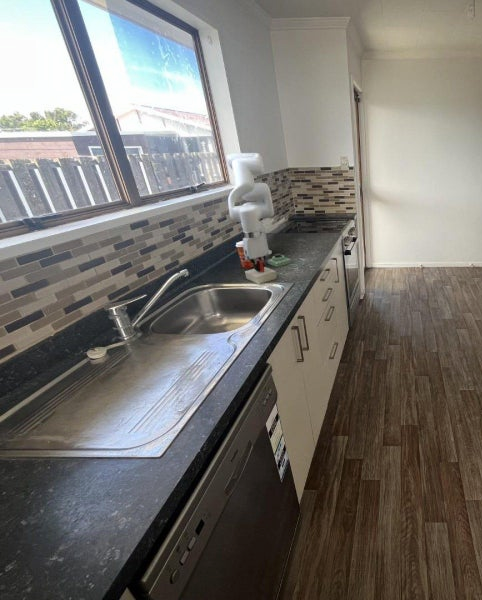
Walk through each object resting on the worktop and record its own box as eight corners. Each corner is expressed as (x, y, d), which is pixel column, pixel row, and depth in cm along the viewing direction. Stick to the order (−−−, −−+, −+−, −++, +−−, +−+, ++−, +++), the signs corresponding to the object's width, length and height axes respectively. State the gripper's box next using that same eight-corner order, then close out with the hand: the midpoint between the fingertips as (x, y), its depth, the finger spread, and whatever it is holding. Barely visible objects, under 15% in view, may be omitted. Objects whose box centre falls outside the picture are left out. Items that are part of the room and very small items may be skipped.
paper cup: (237, 268, 183) (231, 243, 177) (248, 263, 189) (243, 240, 183) (248, 269, 180) (242, 245, 174) (258, 265, 187) (253, 241, 181)
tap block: (246, 278, 168) (244, 271, 166) (264, 273, 175) (262, 265, 173) (258, 284, 161) (257, 276, 159) (276, 278, 168) (275, 270, 166)
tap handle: (255, 270, 167) (253, 258, 165) (258, 269, 168) (256, 257, 166) (261, 272, 164) (259, 260, 161) (264, 271, 165) (262, 259, 163)
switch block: (267, 263, 189) (266, 257, 187) (281, 259, 195) (280, 253, 194) (277, 267, 183) (275, 260, 182) (291, 263, 189) (290, 256, 188)
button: (273, 257, 187) (273, 254, 187) (279, 256, 190) (278, 253, 189) (277, 258, 185) (276, 255, 185) (282, 257, 188) (282, 254, 187)
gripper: (263, 230, 166) (270, 264, 174) (232, 236, 155) (241, 273, 163) (271, 232, 162) (278, 267, 169) (240, 238, 150) (249, 276, 158)
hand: (260, 270), depth 166 cm, fingers closed
